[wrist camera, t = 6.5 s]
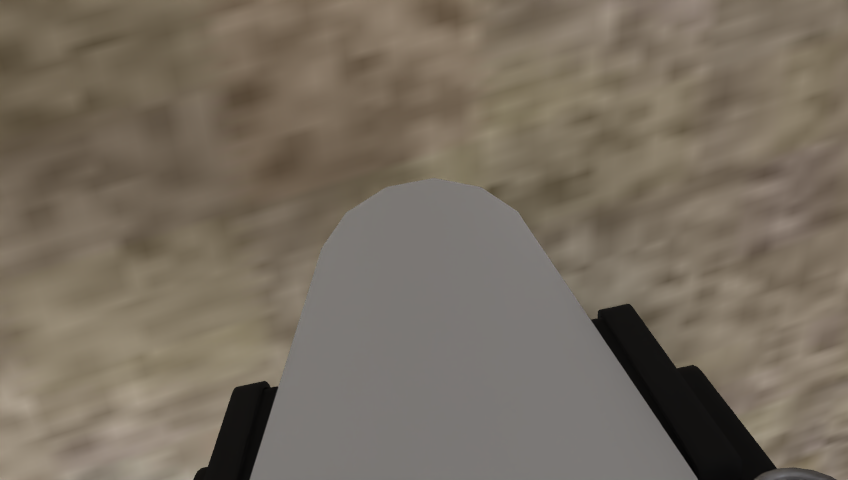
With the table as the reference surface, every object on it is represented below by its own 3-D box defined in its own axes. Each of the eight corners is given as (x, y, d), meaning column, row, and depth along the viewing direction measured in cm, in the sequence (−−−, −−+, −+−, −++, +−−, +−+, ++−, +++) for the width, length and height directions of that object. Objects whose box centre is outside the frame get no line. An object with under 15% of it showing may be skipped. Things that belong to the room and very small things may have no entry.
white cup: (611, 220, 16) (923, 584, 7) (491, 425, 18) (603, 903, 9) (354, 115, 14) (309, 395, 5) (260, 352, 17) (116, 830, 8)
